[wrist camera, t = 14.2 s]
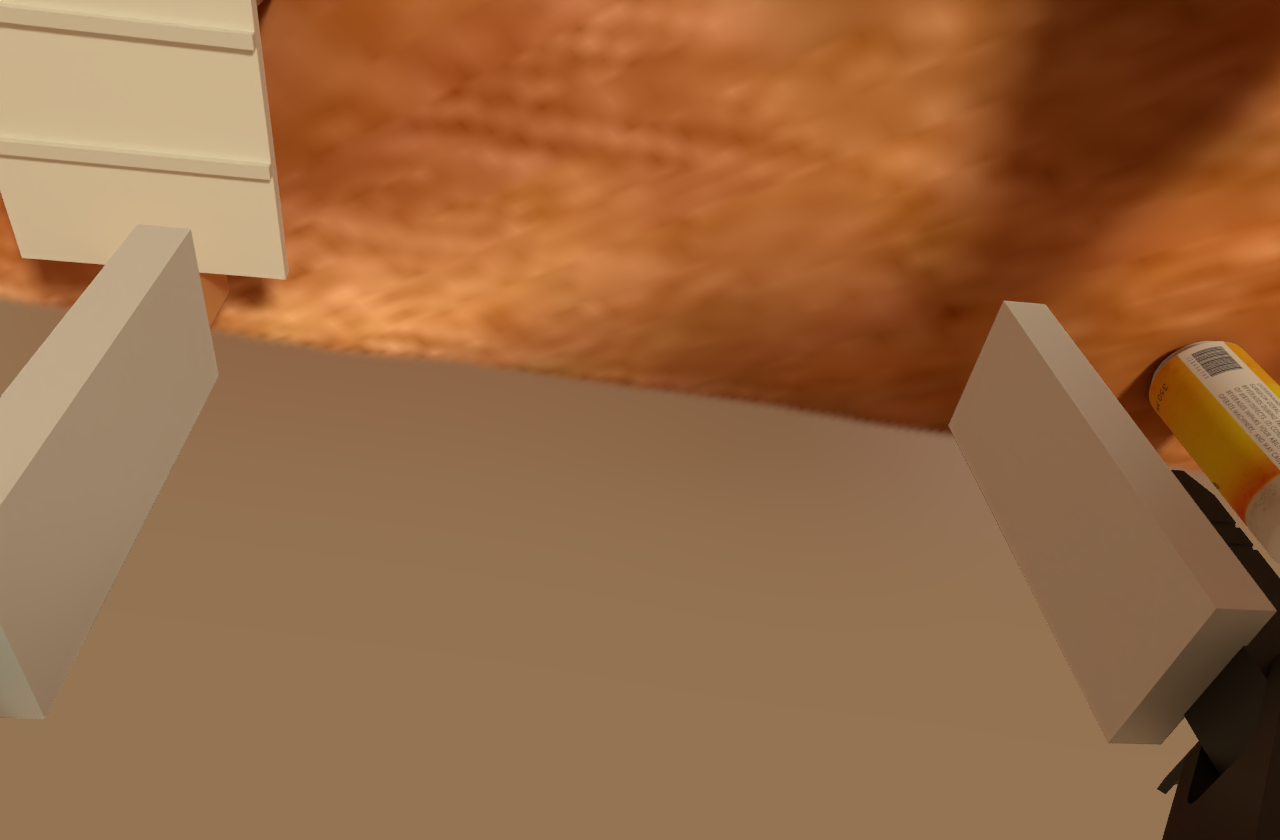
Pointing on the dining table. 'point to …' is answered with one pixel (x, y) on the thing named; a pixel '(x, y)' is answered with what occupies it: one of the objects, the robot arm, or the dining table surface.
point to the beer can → (1227, 427)
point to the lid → (140, 132)
